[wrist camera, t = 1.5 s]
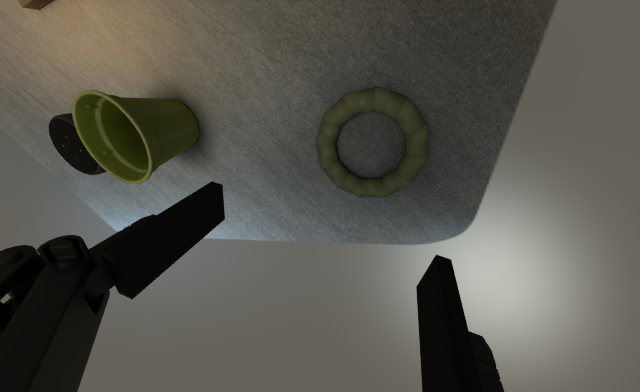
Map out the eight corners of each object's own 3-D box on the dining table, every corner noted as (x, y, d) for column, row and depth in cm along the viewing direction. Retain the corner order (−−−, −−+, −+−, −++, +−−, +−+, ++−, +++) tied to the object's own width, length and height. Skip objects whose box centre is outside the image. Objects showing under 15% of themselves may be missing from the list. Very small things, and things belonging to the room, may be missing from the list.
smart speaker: (133, 172, 38) (107, 182, 35) (92, 161, 40) (63, 170, 36) (113, 116, 33) (81, 121, 30) (68, 106, 35) (33, 111, 32)
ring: (426, 76, 20) (428, 77, 19) (427, 189, 25) (429, 198, 23) (310, 100, 24) (303, 103, 23) (330, 194, 29) (325, 202, 27)
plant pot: (169, 159, 34) (107, 185, 27) (137, 89, 30) (53, 97, 23) (220, 156, 31) (166, 183, 24) (193, 78, 27) (116, 82, 20)
